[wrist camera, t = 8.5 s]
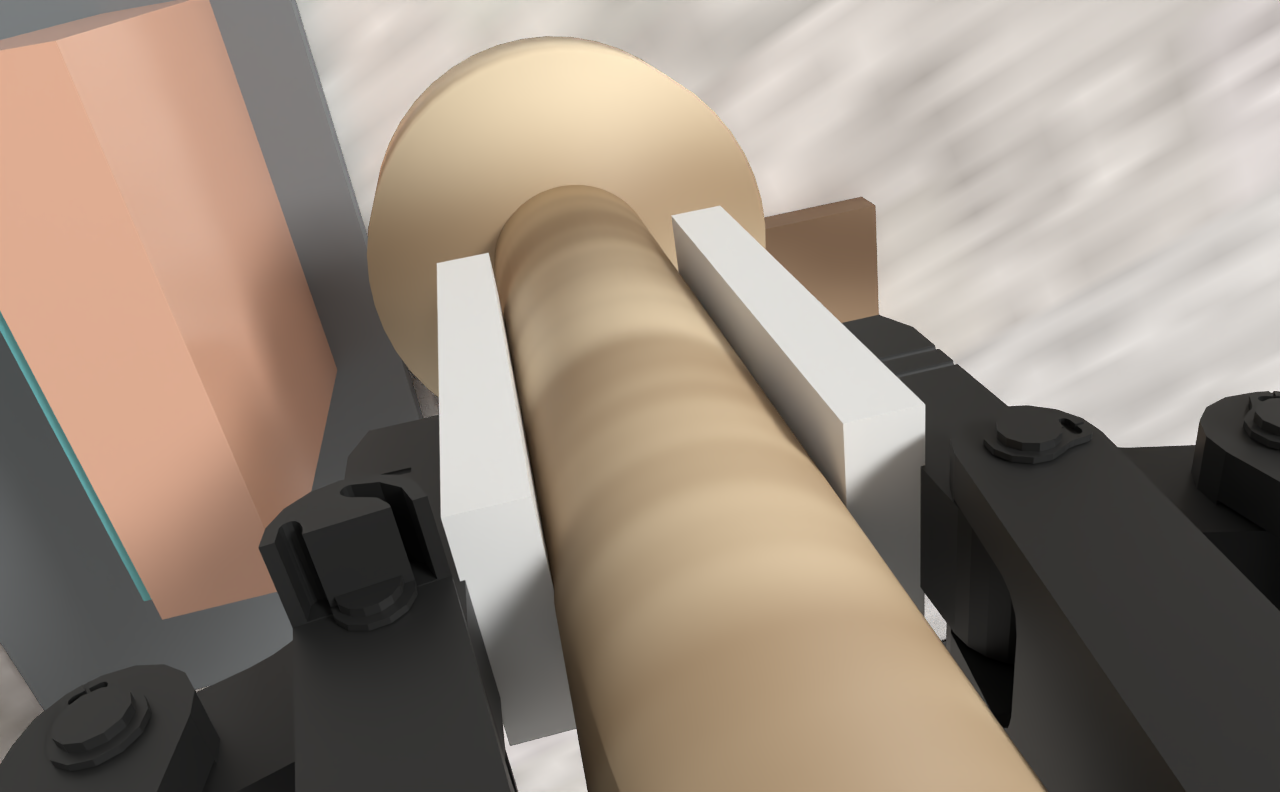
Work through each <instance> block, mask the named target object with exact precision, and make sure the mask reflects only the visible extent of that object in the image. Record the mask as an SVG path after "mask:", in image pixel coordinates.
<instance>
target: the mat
mask: <svg viewBox="0 0 1280 792" xmlns="http://www.w3.org/2000/svg"><path fill="white" fill-rule="evenodd" d="M170 1H175V0H0V40H3V39H6V38H10V37H14V36H18V35H22V34H25V33H29V32H33V31H37V30H41V29H45V28H48V27H52V26H56V25H60V24H64V23H67V22H71V21H75V20H79V19H83V18H87V17H90V16H94V15H98V14H102V13H107V12H113V11H119V10H124V9H130V8H136V7H141V6H147V5H153V4H158V3H164V2H170ZM209 1H210V4H211V7H212V10H213V13H214V16H215V18H216V21H217V24H218V27H219V30H220V33H221V36H222V39H223V41H224V44H225V47H226V50H227V53H228V56H229V59H230V62H231V65H232V67H233V70H234V73H235V76H236V79H237V82H238V85H239V88H240V91H241V93H242V96H243V99H244V102H245V105H246V108H247V111H248V114H249V116H250V119H251V122H252V125H253V128H254V131H255V134H256V137H257V140H258V142H259V145H260V148H261V151H262V154H263V157H264V160H265V163H266V166H267V168H268V171H269V174H270V177H271V180H272V183H273V186H274V189H275V192H276V194H277V197H278V200H279V203H280V206H281V209H282V212H283V215H284V217H285V220H286V223H287V226H288V229H289V232H290V235H291V238H292V241H293V243H294V246H295V249H296V252H297V255H298V258H299V261H300V264H301V267H302V269H303V272H304V275H305V278H306V281H307V284H308V287H309V290H310V292H311V295H312V298H313V301H314V304H315V307H316V310H317V313H318V316H319V318H320V321H321V324H322V327H323V330H324V333H325V336H326V339H327V342H328V344H329V347H330V350H331V353H332V356H333V359H334V362H335V365H336V367H337V374H336V378H335V383H334V388H333V392H332V397H331V402H330V406H329V411H328V416H327V420H326V425H325V430H324V434H323V439H322V444H321V448H320V453H319V458H318V462H317V467H316V472H315V476H314V481H313V486H312V490H311V492H312V491H314V490H317V489H319V488H322V487H324V486H327V485H329V484H332V483H334V482H337V481H339V480H344V478H345V471H346V465H347V459H348V456H349V455H350V453H351V452H352V451H353V450H354V448H355V447H356V446H357V445H358V444H359V442H360V441H361V440H362V439H363V437H364V436H365V435H366V434H367V432H368V431H369V430H374V429H379V428H383V427H388V426H392V425H397V424H401V423H406V422H410V421H415V420H419V419H423V416H422V413H421V410H420V406H419V403H418V400H417V397H416V393H415V390H414V387H413V383H412V380H411V377H410V374H409V370H408V367H407V366H406V364H405V363H404V361H403V360H402V359H401V357H400V356H399V355H398V353H397V352H396V350H395V349H394V347H393V345H392V343H391V341H390V340H389V338H388V336H387V334H386V332H385V330H384V328H383V326H382V323H381V320H380V318H379V315H378V313H377V310H376V307H375V304H374V300H373V295H372V291H371V287H370V282H369V274H368V262H367V243H368V236H367V233H366V230H365V226H364V223H363V220H362V216H361V213H360V210H359V207H358V203H357V200H356V197H355V193H354V190H353V187H352V184H351V180H350V177H349V174H348V171H347V167H346V164H345V161H344V157H343V154H342V151H341V148H340V144H339V141H338V138H337V135H336V131H335V128H334V125H333V121H332V118H331V115H330V112H329V108H328V105H327V102H326V98H325V95H324V92H323V89H322V85H321V82H320V79H319V76H318V72H317V69H316V66H315V62H314V59H313V56H312V53H311V49H310V46H309V43H308V40H307V36H306V33H305V30H304V26H303V23H302V20H301V17H300V13H299V10H298V7H297V3H296V0H209ZM292 640H293V628H292V626H291V623H290V621H289V619H288V616H287V614H286V612H285V609H284V607H283V604H282V602H281V600H280V597H279V595H278V593H277V592H274V593H270V594H266V595H262V596H258V597H253V598H249V599H245V600H241V601H237V602H233V603H229V604H225V605H221V606H217V607H212V608H208V609H204V610H200V611H196V612H192V613H188V614H184V615H180V616H176V617H171V618H167V619H163V620H162V618H161V616H160V614H159V612H158V610H157V609H156V607H155V605H154V603H153V601H152V600H148V601H144V600H143V599H142V597H141V595H140V593H139V591H138V589H137V587H136V585H135V583H134V582H133V580H132V578H131V576H130V574H129V572H128V570H127V568H126V567H125V565H124V563H123V561H122V559H121V557H120V555H119V553H118V551H117V550H116V548H115V546H114V544H113V542H112V540H111V538H110V536H109V534H108V533H107V531H106V529H105V527H104V525H103V523H102V521H101V519H100V518H99V516H98V514H97V512H96V510H95V508H94V506H93V504H92V502H91V501H90V499H89V497H88V495H87V493H86V491H85V489H84V487H83V486H82V484H81V482H80V480H79V478H78V476H77V474H76V472H75V470H74V469H73V467H72V465H71V463H70V461H69V459H68V457H67V455H66V453H65V452H64V450H63V448H62V446H61V444H60V442H59V440H58V438H57V437H56V435H55V433H54V431H53V429H52V427H51V425H50V423H49V421H48V420H47V418H46V416H45V414H44V412H43V410H42V408H41V406H40V404H39V403H38V401H37V399H36V397H35V395H34V393H33V391H32V389H31V388H30V386H29V384H28V382H27V380H26V378H25V376H24V374H23V372H22V371H21V369H20V367H19V365H18V363H17V361H16V359H15V357H14V355H13V354H12V352H11V350H10V348H9V346H8V344H7V342H6V340H5V339H4V337H3V335H2V333H1V331H0V643H1V644H2V646H3V647H4V649H5V651H6V652H7V654H8V655H9V657H10V658H11V660H12V661H13V663H14V664H15V666H16V668H17V669H18V671H19V672H20V674H21V675H22V677H23V678H24V680H25V682H26V683H27V685H28V686H29V688H30V689H31V691H32V692H33V694H34V695H35V697H36V699H37V700H38V702H39V703H40V705H41V706H42V708H43V709H44V711H45V710H46V709H48V708H49V707H50V706H52V705H53V704H54V703H55V702H57V701H58V700H59V699H61V698H62V697H63V696H64V695H66V694H67V693H69V692H71V691H73V690H74V689H76V688H78V687H80V686H81V685H84V684H86V683H87V682H89V681H92V680H94V679H96V678H98V677H100V676H102V675H105V674H108V673H112V672H115V671H118V670H122V669H125V668H128V667H132V666H135V665H159V664H165V665H168V666H170V667H173V668H175V669H178V670H180V671H183V672H185V673H186V675H187V677H188V678H189V680H190V682H191V684H192V686H193V688H194V689H195V690H196V689H200V688H203V687H207V686H211V685H214V684H216V683H218V682H220V681H222V680H224V679H226V678H229V677H231V676H233V675H235V674H237V673H239V672H241V671H243V670H246V669H248V668H250V667H252V666H254V665H255V664H257V663H259V662H261V661H263V660H264V659H266V658H268V657H270V656H272V655H273V654H275V653H276V652H278V651H279V650H280V649H282V648H283V647H284V646H286V645H287V644H288V643H290V642H291V641H292Z"/></svg>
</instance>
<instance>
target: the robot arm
mask: <svg viewBox="0 0 1280 792" xmlns="http://www.w3.org/2000/svg"><path fill="white" fill-rule="evenodd" d="M671 217H672V225H673V233H674V240H675V248H676V256H677V263H678V271H679V273H680V275H681V276H682V278H683V279H684V280H685V282H686V283H687V285H688V286H689V287H690V289H691V290H692V292H693V293H694V295H695V296H696V297H697V299H698V300H699V302H700V303H701V304H702V306H703V307H704V309H705V310H706V311H707V313H708V314H709V316H710V317H711V318H712V320H713V321H714V323H715V324H716V325H717V327H718V328H719V330H720V331H721V332H722V334H723V335H724V337H725V338H726V339H727V341H728V342H729V344H730V345H731V347H732V348H733V349H734V351H735V352H736V354H737V355H738V356H739V358H740V359H741V361H742V362H743V363H744V365H745V366H746V368H747V369H748V370H749V372H750V373H751V375H752V376H753V377H754V379H755V380H756V382H757V383H758V384H759V386H760V387H761V389H762V390H763V391H764V393H765V394H766V396H767V397H768V399H769V400H770V401H771V403H772V404H773V406H774V407H775V408H776V410H777V411H778V413H779V414H780V415H781V417H782V418H783V420H784V421H785V422H786V424H787V425H788V427H789V428H790V429H791V431H792V432H793V434H794V435H795V436H796V438H797V439H798V441H799V442H800V443H801V445H802V446H803V448H804V449H805V450H806V452H807V453H808V455H809V456H810V458H811V459H812V460H813V462H814V463H815V465H816V466H817V467H818V469H819V470H820V472H821V473H822V474H823V476H824V477H825V479H826V480H827V481H828V483H829V484H830V486H831V487H832V488H833V490H834V491H835V493H836V494H837V495H838V497H839V498H840V500H841V501H842V502H843V504H844V505H845V507H846V508H847V510H848V511H849V512H850V514H851V515H852V517H853V518H854V519H855V521H856V522H857V524H858V525H859V526H860V528H861V529H862V531H863V532H864V533H865V535H866V536H867V538H868V539H869V540H870V542H871V543H872V545H873V546H874V547H875V549H876V550H877V552H878V553H879V554H880V556H881V557H882V559H883V560H884V562H885V563H886V564H887V566H888V567H889V569H890V570H891V571H892V573H893V574H894V576H895V577H896V578H897V580H898V581H899V583H900V584H901V585H902V587H903V588H904V590H905V591H906V592H907V594H908V595H909V597H910V598H911V599H912V601H913V602H914V604H915V605H916V606H917V608H918V609H919V611H920V612H921V614H922V615H923V616H924V593H925V594H926V595H927V597H928V598H929V599H930V601H931V602H932V603H933V605H934V606H935V607H936V609H937V610H938V611H939V613H940V614H941V616H942V617H943V618H944V620H945V621H946V622H947V632H946V641H944V642H942V643H943V644H944V646H945V647H946V649H947V650H948V651H949V653H950V654H951V656H952V657H953V658H954V660H955V661H956V663H957V664H958V665H959V667H960V668H961V670H962V671H963V673H964V674H965V675H966V677H967V678H968V680H969V681H970V682H971V684H972V685H973V687H974V688H975V689H976V691H977V692H978V694H979V695H980V696H981V698H982V699H983V701H984V702H985V703H986V705H987V706H988V708H989V709H990V710H991V712H992V713H993V715H994V716H995V717H996V719H997V720H998V722H999V723H1000V725H1001V726H1002V727H1003V729H1004V730H1005V732H1006V733H1007V734H1008V736H1009V737H1010V739H1011V740H1012V741H1013V743H1014V744H1015V746H1016V747H1017V748H1018V750H1019V751H1020V753H1021V754H1022V755H1023V757H1024V758H1025V760H1026V761H1027V762H1028V764H1029V765H1030V767H1031V768H1032V769H1033V771H1034V772H1035V774H1036V775H1037V777H1038V778H1039V779H1040V781H1041V782H1042V784H1043V785H1044V786H1045V788H1046V789H1047V791H1048V792H1280V392H1278V391H1273V393H1270V392H1269V391H1266V392H1254V393H1247V394H1242V395H1236V396H1231V397H1225V398H1223V399H1221V400H1219V401H1217V402H1215V403H1214V404H1212V405H1210V406H1208V407H1206V409H1205V411H1204V413H1203V415H1202V417H1201V419H1200V422H1199V428H1198V434H1197V440H1196V445H1189V446H1163V447H1137V448H1118V447H1117V446H1116V445H1115V444H1114V443H1113V442H1112V441H1111V440H1110V439H1109V438H1108V437H1107V436H1106V435H1105V434H1104V433H1103V432H1102V431H1100V430H1099V429H1097V428H1096V427H1095V426H1093V425H1092V424H1090V423H1089V422H1087V421H1086V420H1084V419H1083V418H1080V417H1077V416H1074V415H1072V414H1069V413H1066V412H1063V411H1060V410H1057V409H1050V408H1043V407H1035V406H1027V405H1026V406H1007V405H1006V404H1005V403H1003V402H1002V401H1001V400H1000V399H999V398H997V397H996V396H995V395H994V394H993V393H991V392H990V391H989V390H988V389H987V388H985V387H984V386H983V385H982V384H981V383H979V382H978V381H977V380H976V379H975V378H973V377H972V376H971V375H970V374H969V373H967V372H966V371H965V370H964V369H963V368H961V367H960V366H959V365H958V364H956V365H954V364H953V360H952V359H951V358H949V357H948V356H947V355H946V354H945V353H943V352H942V351H941V350H940V349H935V345H934V344H933V343H931V342H930V341H929V340H928V339H927V338H925V337H924V336H923V335H922V334H921V333H919V332H918V331H917V330H916V329H915V328H913V327H911V326H909V325H906V324H903V323H900V322H897V321H895V320H892V319H889V318H886V317H883V316H880V315H875V316H871V317H866V318H862V319H857V320H852V321H848V322H843V323H841V322H840V321H839V320H838V319H837V318H836V317H835V316H834V315H833V314H832V313H831V312H829V311H828V310H827V309H826V308H825V307H824V306H823V305H822V304H821V303H820V302H819V301H818V300H817V299H816V298H815V297H814V296H813V295H812V294H811V293H810V292H809V291H808V290H807V289H806V288H805V287H804V286H803V285H802V284H801V283H800V282H799V281H798V280H796V279H795V278H794V277H793V276H792V275H791V274H790V273H789V272H788V271H787V270H786V269H785V268H784V267H783V266H782V265H781V264H780V263H779V262H778V261H777V260H776V259H775V258H774V257H773V256H772V255H771V254H770V253H769V252H768V251H767V250H766V249H765V248H764V247H762V246H761V245H760V244H759V243H758V242H757V241H756V240H755V239H754V238H753V237H752V236H751V235H750V234H749V233H748V232H747V231H746V230H745V229H744V228H743V227H742V226H741V225H740V224H739V223H738V222H737V221H736V220H735V219H734V218H733V217H732V216H731V215H730V214H728V213H727V212H726V211H725V210H724V209H723V208H722V207H721V206H716V207H711V208H706V209H701V210H696V211H691V212H686V213H681V214H676V215H671ZM437 309H438V371H439V415H437V416H433V417H428V418H424V419H419V420H415V421H410V422H406V423H401V424H397V425H392V426H388V427H383V428H379V429H374V430H369V431H368V432H367V434H366V435H365V436H364V437H363V439H362V440H361V441H360V442H359V444H358V445H357V446H356V447H355V448H354V450H353V451H352V452H351V453H350V455H349V456H348V459H347V465H346V471H345V478H344V480H339V481H337V482H334V483H332V484H329V485H327V486H324V487H322V488H319V489H317V490H314V491H312V492H309V493H308V494H306V495H305V496H303V497H302V498H300V499H298V500H297V501H295V502H294V503H292V504H291V505H289V506H287V507H286V508H284V509H283V510H282V511H281V512H280V513H279V514H278V515H277V516H276V517H275V519H274V520H273V521H272V522H271V523H270V524H269V525H268V526H267V527H266V528H265V531H264V533H263V536H262V539H261V541H260V544H259V547H258V548H259V551H260V553H261V555H262V558H263V560H264V562H265V565H266V567H267V569H268V572H269V574H270V576H271V579H272V581H273V583H274V586H275V588H276V590H277V593H278V595H279V597H280V600H281V602H282V604H283V607H284V609H285V612H286V614H287V616H288V619H289V621H290V623H291V626H292V628H293V640H292V641H291V642H290V643H288V644H287V645H286V646H284V647H283V648H282V649H280V650H279V651H278V652H276V653H275V654H273V655H272V656H270V657H268V658H266V659H264V660H263V661H261V662H259V663H257V664H255V665H254V666H252V667H250V668H248V669H246V670H243V671H241V672H239V673H237V674H235V675H233V676H231V677H229V678H226V679H224V680H222V681H220V682H218V683H216V684H214V685H211V686H209V687H207V688H205V689H203V690H201V691H199V692H196V691H195V689H194V688H193V686H192V684H191V682H190V680H189V678H188V677H187V675H186V673H185V672H183V671H180V670H178V669H175V668H173V667H170V666H168V665H165V664H159V665H135V666H132V667H128V668H125V669H122V670H118V671H115V672H112V673H108V674H105V675H102V676H100V677H98V678H96V679H94V680H92V681H89V682H87V683H86V684H84V685H81V686H80V687H78V688H76V689H74V690H73V691H71V692H69V693H67V694H66V695H64V696H63V697H62V698H61V699H59V700H58V701H57V702H55V703H54V704H53V705H52V706H50V707H49V708H48V709H46V710H45V711H44V712H43V713H41V714H40V715H39V716H37V717H36V718H35V719H34V720H33V721H32V723H31V724H30V725H29V726H28V727H27V729H26V730H25V731H24V732H23V733H22V735H21V736H20V737H19V738H18V739H17V741H16V742H15V743H14V744H13V745H12V747H11V748H10V750H9V752H8V753H7V755H6V756H5V758H4V759H3V761H2V763H1V764H0V792H518V789H517V786H516V782H515V779H514V776H513V773H512V769H511V766H510V763H509V760H508V756H507V753H506V750H505V743H504V732H503V724H504V727H505V731H506V734H507V737H508V741H509V744H510V746H512V745H516V744H520V743H523V742H527V741H531V740H535V739H539V738H542V737H546V736H550V735H554V734H558V733H561V732H565V731H569V730H573V729H576V723H575V718H574V712H573V707H572V701H571V696H570V690H569V684H568V679H567V673H566V668H565V662H564V657H563V651H562V646H561V640H560V634H559V629H558V623H557V618H556V611H555V605H554V587H553V582H552V576H551V571H550V566H549V560H548V555H547V549H546V544H545V538H544V533H543V528H542V522H541V517H540V511H539V506H538V500H537V495H536V490H535V484H534V479H533V473H532V468H531V463H530V457H529V452H528V446H527V441H526V435H525V430H524V425H523V419H522V414H521V408H520V403H519V398H518V392H517V387H516V381H515V376H514V370H513V365H512V360H511V354H510V349H509V343H508V338H507V332H506V327H505V322H504V317H503V312H502V308H501V304H500V299H499V295H498V291H497V287H496V282H495V278H494V274H493V269H492V265H491V261H490V257H489V253H485V254H480V255H475V256H470V257H465V258H460V259H455V260H450V261H445V262H440V263H437Z"/></svg>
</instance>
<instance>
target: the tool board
mask: <svg viewBox="0 0 1280 792" xmlns="http://www.w3.org/2000/svg"><path fill="white" fill-rule="evenodd" d="M764 220H765V242H766V250H767V251H768V252H769V253H770V254H771V255H772V256H773V257H774V258H775V259H776V260H777V261H778V262H779V263H780V264H781V265H782V266H783V267H784V268H785V269H786V270H787V271H788V272H789V273H790V274H791V275H792V276H793V277H794V278H795V279H796V280H798V281H799V282H800V283H801V284H802V285H803V286H804V287H805V288H806V289H807V290H808V291H809V292H810V293H811V294H812V295H813V296H814V297H815V298H816V299H817V300H818V301H819V302H820V303H821V304H822V305H823V306H824V307H825V308H826V309H827V310H828V311H829V312H831V313H832V314H833V315H834V316H835V317H836V318H837V319H838V320H839V321H840V322H841V323H843V322H848V321H852V320H857V319H862V318H866V317H871V316H875V315H879V309H878V276H877V243H876V211H875V205H874V204H872V203H871V202H869V201H867V200H866V199H864V198H863V197H859V198H854V199H849V200H845V201H840V202H835V203H831V204H826V205H821V206H817V207H812V208H807V209H802V210H798V211H793V212H788V213H784V214H779V215H774V216H770V217H765V218H764Z"/></svg>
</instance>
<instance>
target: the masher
mask: <svg viewBox="0 0 1280 792" xmlns="http://www.w3.org/2000/svg"><path fill="white" fill-rule="evenodd" d="M716 206H721V207H722V208H723V209H724V210H725V211H726V212H727V213H728V214H730V215H731V216H732V217H733V218H734V219H735V220H736V221H737V222H738V223H739V224H740V225H741V226H742V227H743V228H744V229H745V230H746V231H747V232H748V233H749V234H750V235H751V236H752V237H753V238H754V239H755V240H756V241H757V242H758V243H759V244H760V245H761V246H762V247H764V248H765V249H766V242H765V220H764V213H763V207H762V200H761V197H760V193H759V190H758V186H757V183H756V180H755V176H754V174H753V172H752V169H751V167H750V165H749V163H748V161H747V158H746V156H745V154H744V152H743V150H742V149H741V147H740V146H739V144H738V142H737V141H736V139H735V138H734V136H733V134H732V133H731V131H730V130H729V129H728V128H727V127H726V125H725V124H724V123H723V122H722V121H721V119H720V118H719V117H718V116H717V115H716V113H715V112H714V111H713V110H712V109H710V108H709V107H708V106H707V105H706V104H705V103H704V102H703V101H702V100H700V99H699V98H698V97H697V96H696V95H695V94H694V93H692V92H691V91H689V90H688V89H686V88H685V87H683V86H682V85H680V84H679V83H677V82H676V81H674V80H673V79H671V78H670V77H668V76H667V75H665V74H663V73H662V72H660V71H659V70H657V69H656V68H654V67H652V66H651V65H649V64H648V63H646V62H645V61H643V60H641V59H639V58H637V57H635V56H633V55H631V54H629V53H627V52H625V51H623V50H621V49H618V48H615V47H612V46H609V45H606V44H603V43H600V42H597V41H591V40H585V39H580V38H574V37H551V36H545V37H536V38H527V39H520V40H516V41H512V42H508V43H504V44H500V45H497V46H494V47H492V48H489V49H487V50H485V51H482V52H480V53H477V54H475V55H473V56H471V57H469V58H468V59H466V60H464V61H462V62H461V63H459V64H457V65H456V66H454V67H452V68H451V69H450V70H448V71H447V72H446V73H445V74H443V75H442V76H441V77H440V78H438V79H437V80H436V81H434V82H433V83H432V84H431V85H430V86H429V87H428V88H427V89H426V90H425V91H424V92H423V93H422V95H421V96H420V97H419V98H418V99H417V100H416V101H415V102H414V103H413V105H412V106H411V108H410V109H409V110H408V112H407V113H406V115H405V116H404V117H403V119H402V120H401V122H400V124H399V126H398V127H397V129H396V131H395V133H394V135H393V137H392V139H391V141H390V143H389V145H388V148H387V151H386V154H385V157H384V160H383V162H382V165H381V169H380V174H379V179H378V183H377V188H376V193H375V198H374V202H373V207H372V212H371V217H370V222H369V227H368V243H367V262H368V274H369V282H370V287H371V291H372V295H373V300H374V304H375V307H376V310H377V313H378V315H379V318H380V320H381V323H382V326H383V328H384V330H385V332H386V334H387V336H388V338H389V340H390V341H391V343H392V345H393V347H394V349H395V350H396V352H397V353H398V355H399V356H400V357H401V359H402V360H403V361H404V363H405V364H406V366H407V367H408V368H409V370H410V371H411V372H412V373H413V374H414V375H415V376H416V377H417V378H418V379H419V380H420V381H421V382H422V383H423V384H424V385H425V386H426V387H427V389H429V390H430V391H431V392H432V393H434V394H435V395H436V396H437V397H439V371H438V309H437V263H440V262H445V261H450V260H455V259H460V258H465V257H470V256H475V255H480V254H485V253H489V257H490V261H491V265H492V269H493V274H494V278H495V282H496V287H497V291H498V295H499V299H500V304H501V308H502V312H503V317H504V322H505V327H506V332H507V338H508V343H509V349H510V354H511V360H512V365H513V370H514V376H515V381H516V387H517V392H518V398H519V403H520V408H521V414H522V419H523V425H524V430H525V435H526V441H527V446H528V452H529V457H530V463H531V468H532V473H533V479H534V484H535V490H536V495H537V500H538V506H539V511H540V517H541V522H542V528H543V533H544V538H545V544H546V549H547V555H548V560H549V566H550V571H551V576H552V582H553V587H554V605H555V611H556V618H557V623H558V629H559V634H560V640H561V646H562V651H563V657H564V662H565V668H566V673H567V679H568V684H569V690H570V696H571V701H572V707H573V712H574V718H575V723H576V729H577V734H578V740H579V746H580V751H581V757H582V762H583V768H584V773H585V779H586V784H587V790H588V792H1048V791H1047V789H1046V788H1045V786H1044V785H1043V784H1042V782H1041V781H1040V779H1039V778H1038V777H1037V775H1036V774H1035V772H1034V771H1033V769H1032V768H1031V767H1030V765H1029V764H1028V762H1027V761H1026V760H1025V758H1024V757H1023V755H1022V754H1021V753H1020V751H1019V750H1018V748H1017V747H1016V746H1015V744H1014V743H1013V741H1012V740H1011V739H1010V737H1009V736H1008V734H1007V733H1006V732H1005V730H1004V729H1003V727H1002V726H1001V725H1000V723H999V722H998V720H997V719H996V717H995V716H994V715H993V713H992V712H991V710H990V709H989V708H988V706H987V705H986V703H985V702H984V701H983V699H982V698H981V696H980V695H979V694H978V692H977V691H976V689H975V688H974V687H973V685H972V684H971V682H970V681H969V680H968V678H967V677H966V675H965V674H964V673H963V671H962V670H961V668H960V667H959V665H958V664H957V663H956V661H955V660H954V658H953V657H952V656H951V654H950V653H949V651H948V650H947V649H946V647H945V646H944V644H943V643H942V642H941V640H940V639H939V637H938V636H937V635H936V633H935V632H934V630H933V629H932V628H931V626H930V625H929V623H928V622H927V621H926V619H925V618H924V616H923V615H922V614H921V612H920V611H919V609H918V608H917V606H916V605H915V604H914V602H913V601H912V599H911V598H910V597H909V595H908V594H907V592H906V591H905V590H904V588H903V587H902V585H901V584H900V583H899V581H898V580H897V578H896V577H895V576H894V574H893V573H892V571H891V570H890V569H889V567H888V566H887V564H886V563H885V562H884V560H883V559H882V557H881V556H880V554H879V553H878V552H877V550H876V549H875V547H874V546H873V545H872V543H871V542H870V540H869V539H868V538H867V536H866V535H865V533H864V532H863V531H862V529H861V528H860V526H859V525H858V524H857V522H856V521H855V519H854V518H853V517H852V515H851V514H850V512H849V511H848V510H847V508H846V507H845V505H844V504H843V502H842V501H841V500H840V498H839V497H838V495H837V494H836V493H835V491H834V490H833V488H832V487H831V486H830V484H829V483H828V481H827V480H826V479H825V477H824V476H823V474H822V473H821V472H820V470H819V469H818V467H817V466H816V465H815V463H814V462H813V460H812V459H811V458H810V456H809V455H808V453H807V452H806V450H805V449H804V448H803V446H802V445H801V443H800V442H799V441H798V439H797V438H796V436H795V435H794V434H793V432H792V431H791V429H790V428H789V427H788V425H787V424H786V422H785V421H784V420H783V418H782V417H781V415H780V414H779V413H778V411H777V410H776V408H775V407H774V406H773V404H772V403H771V401H770V400H769V399H768V397H767V396H766V394H765V393H764V391H763V390H762V389H761V387H760V386H759V384H758V383H757V382H756V380H755V379H754V377H753V376H752V375H751V373H750V372H749V370H748V369H747V368H746V366H745V365H744V363H743V362H742V361H741V359H740V358H739V356H738V355H737V354H736V352H735V351H734V349H733V348H732V347H731V345H730V344H729V342H728V341H727V339H726V338H725V337H724V335H723V334H722V332H721V331H720V330H719V328H718V327H717V325H716V324H715V323H714V321H713V320H712V318H711V317H710V316H709V314H708V313H707V311H706V310H705V309H704V307H703V306H702V304H701V303H700V302H699V300H698V299H697V297H696V296H695V295H694V293H693V292H692V290H691V289H690V287H689V286H688V285H687V283H686V282H685V280H684V279H683V278H682V276H681V275H680V273H679V271H678V263H677V256H676V248H675V240H674V233H673V225H672V217H671V215H676V214H681V213H686V212H691V211H696V210H701V209H706V208H711V207H716Z"/></svg>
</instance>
